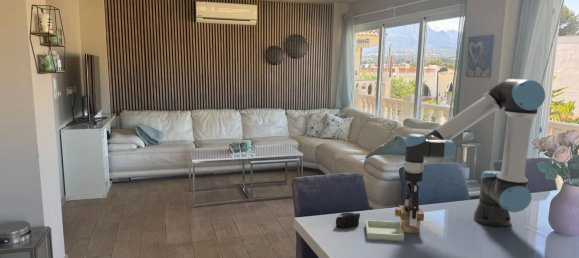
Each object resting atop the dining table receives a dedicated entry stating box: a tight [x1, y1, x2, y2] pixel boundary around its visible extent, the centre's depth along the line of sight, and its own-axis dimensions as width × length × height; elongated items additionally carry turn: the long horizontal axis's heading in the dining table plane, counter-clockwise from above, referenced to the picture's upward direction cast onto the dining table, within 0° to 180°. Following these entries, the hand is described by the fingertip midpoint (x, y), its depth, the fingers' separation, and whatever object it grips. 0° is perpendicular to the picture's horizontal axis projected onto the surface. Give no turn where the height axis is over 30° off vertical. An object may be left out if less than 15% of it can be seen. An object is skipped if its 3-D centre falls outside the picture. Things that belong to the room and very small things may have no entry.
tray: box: [364, 219, 405, 243], centre depth 173 cm, size 14×14×3 cm
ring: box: [394, 205, 425, 222], centre depth 176 cm, size 11×9×3 cm
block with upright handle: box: [400, 198, 421, 234], centre depth 176 cm, size 7×6×14 cm
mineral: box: [335, 212, 361, 229], centre depth 181 cm, size 10×9×6 cm
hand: (410, 219), depth 177 cm, fingers open, 13 cm apart
